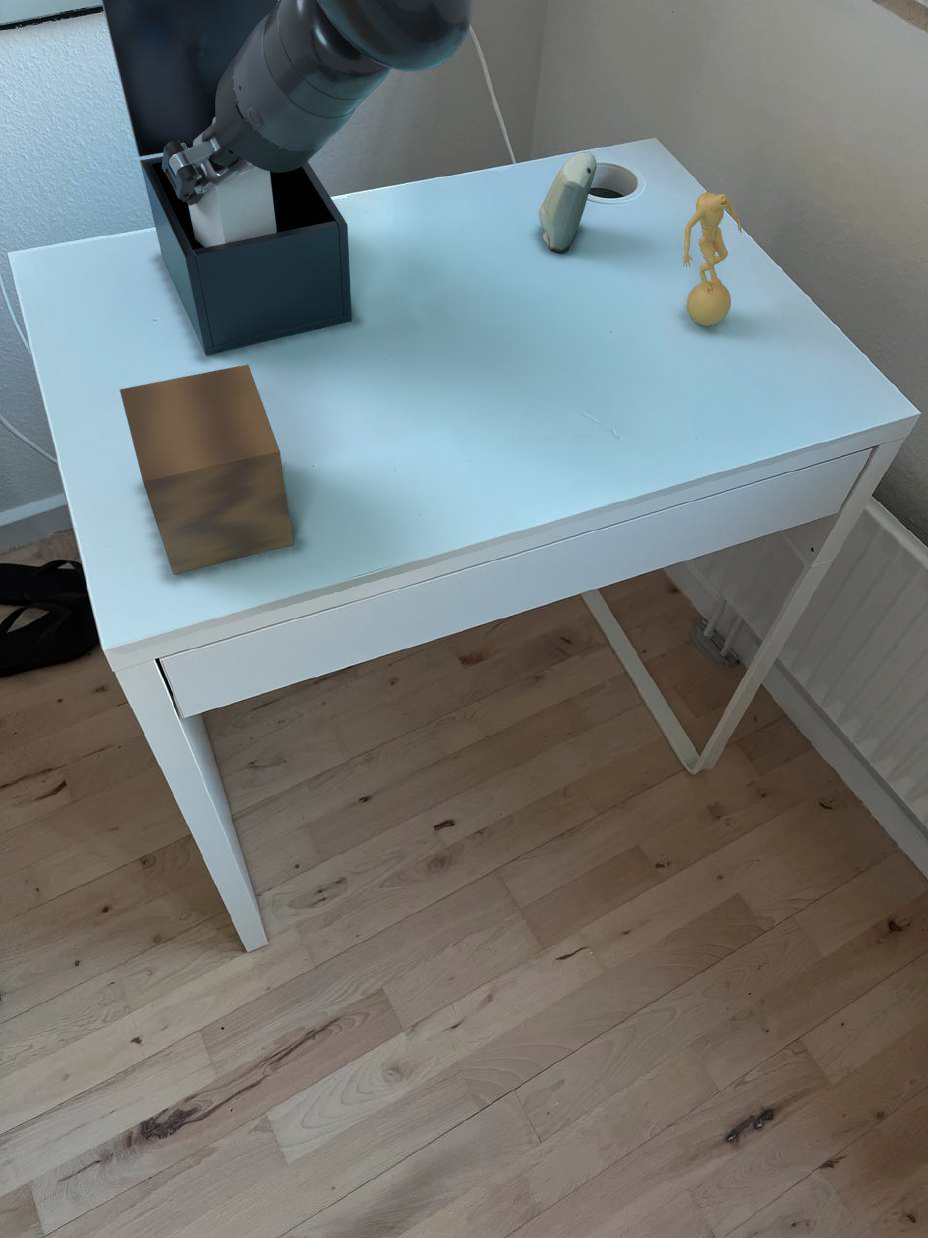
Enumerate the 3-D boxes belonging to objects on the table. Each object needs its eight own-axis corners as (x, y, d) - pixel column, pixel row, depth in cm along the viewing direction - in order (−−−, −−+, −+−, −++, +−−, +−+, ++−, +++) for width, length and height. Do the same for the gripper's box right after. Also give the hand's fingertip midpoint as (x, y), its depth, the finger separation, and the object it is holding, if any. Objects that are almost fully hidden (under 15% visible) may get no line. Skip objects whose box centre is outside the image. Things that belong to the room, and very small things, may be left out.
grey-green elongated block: (596, 255, 94) (611, 179, 87) (546, 259, 93) (558, 183, 86) (578, 221, 97) (592, 145, 90) (530, 225, 96) (540, 149, 89)
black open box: (352, 321, 86) (347, 223, 78) (205, 356, 82) (185, 257, 74) (299, 231, 93) (290, 133, 85) (162, 259, 89) (139, 159, 81)
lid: (271, -73, 72) (253, -93, 74) (89, -53, 68) (77, -75, 70) (291, 130, 84) (276, 107, 86) (139, 156, 80) (127, 132, 83)
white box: (229, 267, 77) (212, 169, 70) (194, 239, 79) (175, 139, 72) (278, 245, 79) (267, 147, 72) (244, 218, 81) (229, 119, 74)
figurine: (693, 350, 86) (731, 232, 76) (642, 318, 88) (673, 199, 79) (745, 312, 90) (788, 195, 80) (695, 282, 92) (731, 165, 82)
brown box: (173, 574, 69) (142, 481, 60) (150, 487, 73) (119, 389, 65) (293, 545, 71) (280, 451, 63) (264, 461, 75) (248, 363, 67)
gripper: (349, 1, 63) (264, 106, 78) (165, 61, 57) (110, 163, 72) (399, 113, 66) (308, 195, 80) (228, 183, 60) (162, 258, 74)
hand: (215, 180), depth 76 cm, fingers closed on white box, 5 cm apart
